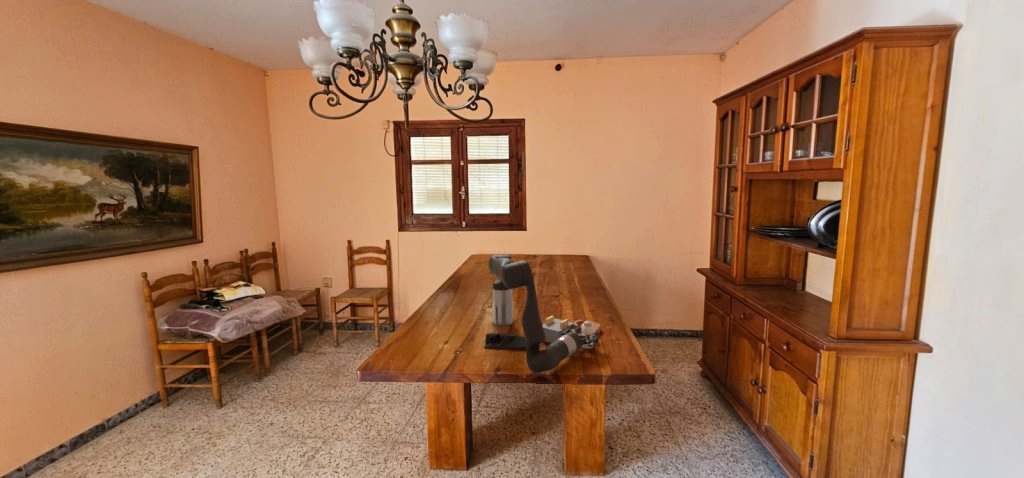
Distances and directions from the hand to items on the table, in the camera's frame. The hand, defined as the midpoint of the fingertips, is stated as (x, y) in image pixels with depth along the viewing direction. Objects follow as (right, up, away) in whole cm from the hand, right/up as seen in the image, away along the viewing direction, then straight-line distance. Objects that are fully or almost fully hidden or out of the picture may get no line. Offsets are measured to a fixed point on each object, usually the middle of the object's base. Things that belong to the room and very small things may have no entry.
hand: (588, 331), depth 162 cm
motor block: (-11, -5, +11) cm, 16 cm away
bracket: (+2, -4, +13) cm, 14 cm away
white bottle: (0, -6, 0) cm, 6 cm away
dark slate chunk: (-31, -7, +6) cm, 33 cm away
